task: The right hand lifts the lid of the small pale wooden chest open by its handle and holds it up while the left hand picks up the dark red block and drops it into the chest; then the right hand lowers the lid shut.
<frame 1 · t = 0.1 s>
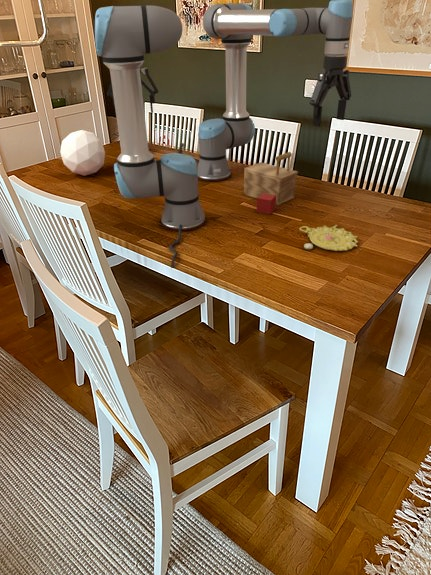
left hand: (135, 113, 181), 28 cm above the table, tool pointing down, fingers open, 13 cm apart
right hand: (328, 122, 157), 28 cm above the table, tool pointing down, fingers open, 13 cm apart
lid: (271, 162, 167), point 14 cm above the table, hinge at -0.1°
block: (266, 210, 163), on the table
chest: (268, 196, 175), on the table
sphere: (87, 173, 205), on the table
athletic shoe: (134, 150, 237), on the table
decorative object: (328, 239, 142), on the table
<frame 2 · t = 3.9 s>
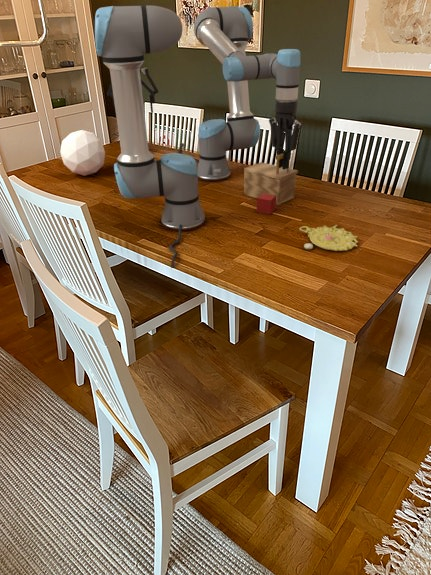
left hand: (135, 113, 181), 28 cm above the table, tool pointing down, fingers open, 13 cm apart
right hand: (282, 167, 165), 13 cm above the table, tool pointing down, fingers closed on lid, 2 cm apart
lid: (270, 161, 167), point 14 cm above the table, hinge at 1.2°, touching right hand
everything else where it was.
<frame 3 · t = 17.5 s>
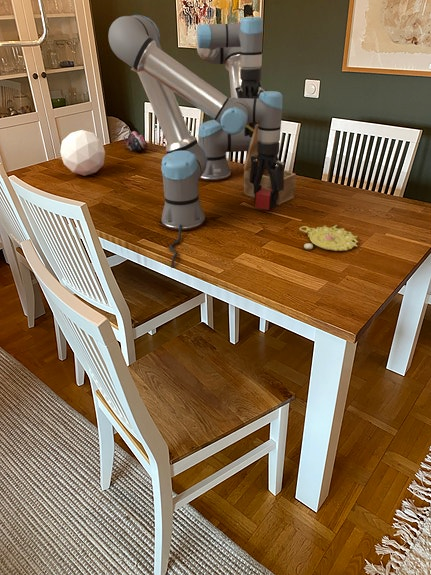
left hand: (265, 205, 162), 2 cm above the table, tool pointing down, fingers closed on block, 6 cm apart
right hand: (249, 135, 170), 22 cm above the table, tool pointing down, fingers closed on lid, 2 cm apart
lid: (252, 141, 170), point 20 cm above the table, hinge at 71.9°, touching right hand
block: (264, 206, 162), point 2 cm above the table, touching left hand
everything else where it was.
when the left hand's fingers open (17 cm above the table, at t = 20.8 s): block drops 16 cm, resting on chest.
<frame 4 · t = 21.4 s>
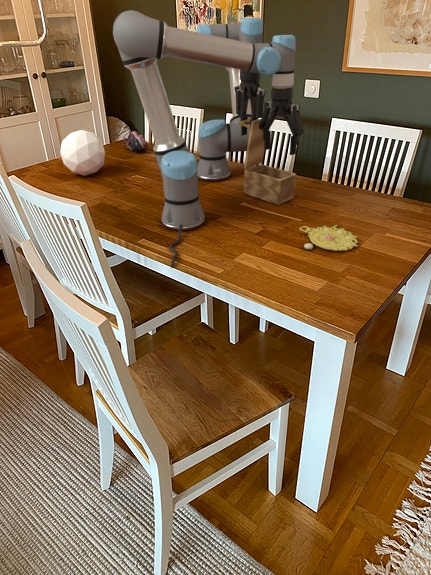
left hand: (279, 151, 162), 18 cm above the table, tool pointing down, fingers open, 11 cm apart
right hand: (248, 135, 170), 22 cm above the table, tool pointing down, fingers open, 4 cm apart
lid: (250, 139, 170), point 20 cm above the table, hinge at 80.1°, touching left hand, right hand
block: (276, 196, 172), point 1 cm above the table, touching chest
chest: (268, 195, 175), on the table, touching block
everything else where it was.
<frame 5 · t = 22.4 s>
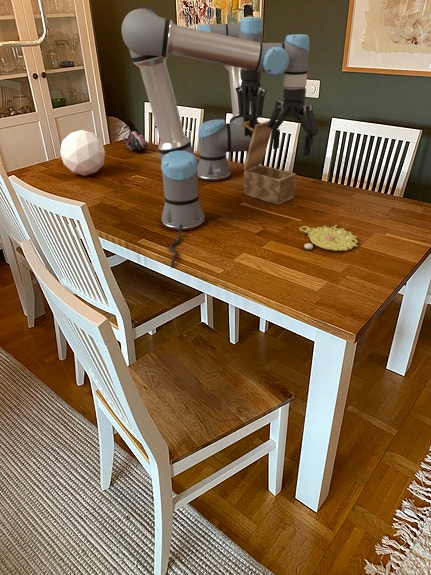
left hand: (291, 151, 159), 19 cm above the table, tool pointing down, fingers open, 13 cm apart
right hand: (249, 135, 170), 22 cm above the table, tool pointing down, fingers closed on lid, 2 cm apart
lid: (252, 141, 170), point 20 cm above the table, hinge at 72.0°, touching right hand
everything else where it was.
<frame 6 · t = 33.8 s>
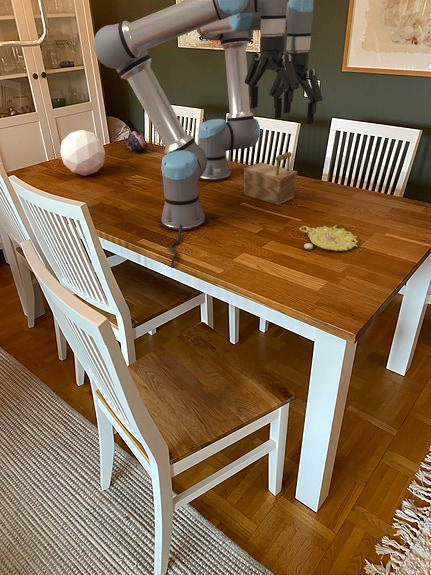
left hand: (269, 110, 144), 35 cm above the table, tool pointing down, fingers open, 13 cm apart
right hand: (293, 120, 153), 30 cm above the table, tool pointing down, fingers open, 13 cm apart
lid: (270, 162, 167), point 14 cm above the table, hinge at -0.1°
everything else where it was.
at the end: block inside the target area in the chest (4.2 cm from its centre), point 0.9 cm above the chest's base; lid at +0° (first picture: +0°); the left hand is holding nothing; the right hand is holding nothing; chest tilted 0°; chest moved 0.1 cm from its start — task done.
